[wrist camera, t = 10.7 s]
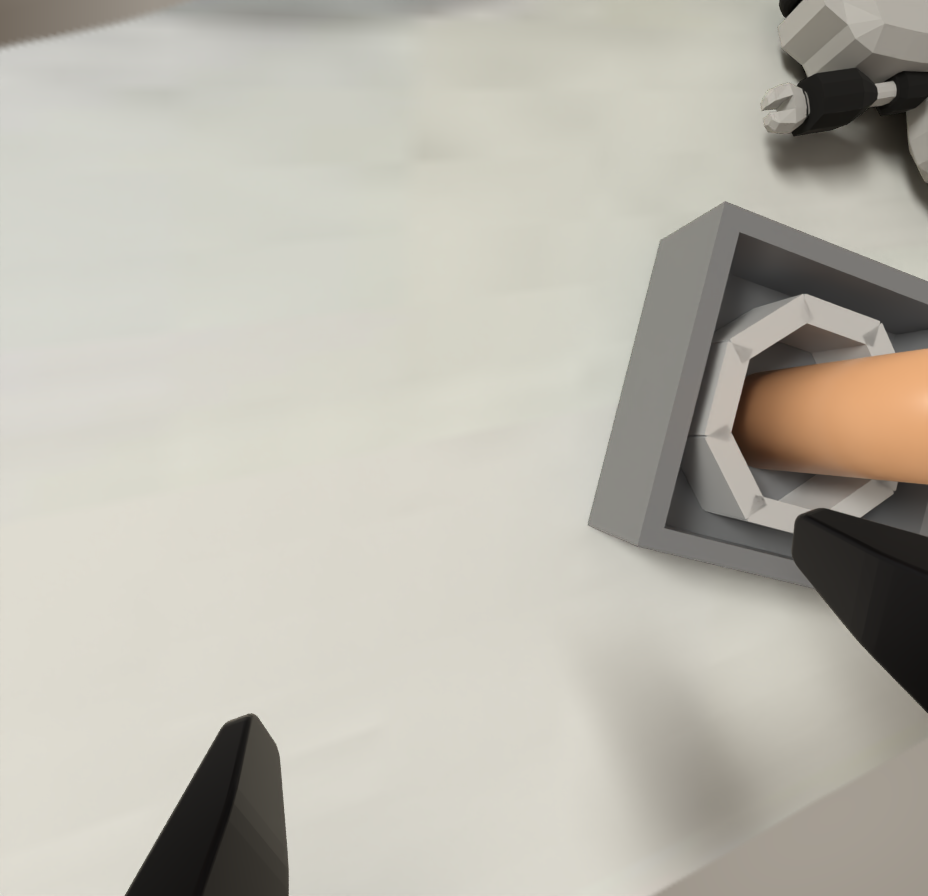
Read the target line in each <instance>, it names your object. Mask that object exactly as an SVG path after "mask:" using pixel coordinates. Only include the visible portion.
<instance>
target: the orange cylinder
mask: <svg viewBox="0 0 928 896" xmlns="http://www.w3.org/2000/svg"><path fill="white" fill-rule="evenodd" d="M731 433H732V435H733V437H734V439H735V441H736V443H737V445H738V447H739V449H740V451H741V453H742V455H743V457H744V459H745V461H746V463H747V465H748V466H751V467H754V468H758V469H768V470H778V471H789V472H800V473H810V474H821V475H831V476H842V477H853V478H863V479H874V480H884V481H895V482H906V483H916V484H927V485H928V348H927V349H920V350H913V351H906V352H899V353H891V354H884V355H877V356H870V357H863V358H856V359H849V360H842V361H834V362H827V363H820V364H813V365H806V366H799V367H792V368H785V369H777V370H770V371H763V372H758V373H754V374H751V375H749V376H747V377H745V380H744V384H743V388H742V392H741V395H740V399H739V403H738V407H737V411H736V415H735V419H734V423H733V427H732V431H731Z"/></svg>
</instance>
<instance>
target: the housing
mask: <svg viewBox="0 0 928 896" xmlns="http://www.w3.org/2000/svg"><path fill="white" fill-rule="evenodd" d="M927 348H928V281H925V280H923V279H920V278H918V277H915V276H912V275H910V274H907V273H905V272H902V271H900V270H897V269H895V268H892V267H890V266H887V265H885V264H882V263H880V262H877V261H875V260H872V259H870V258H867V257H864V256H862V255H859V254H857V253H854V252H852V251H849V250H847V249H844V248H842V247H839V246H837V245H834V244H832V243H829V242H827V241H824V240H822V239H819V238H817V237H814V236H811V235H809V234H806V233H804V232H801V231H799V230H796V229H794V228H791V227H789V226H786V225H784V224H781V223H779V222H776V221H774V220H771V219H769V218H766V217H763V216H761V215H758V214H756V213H753V212H751V211H748V210H746V209H743V208H741V207H738V206H736V205H733V204H731V203H728V202H726V201H725V202H723V203H722V204H720V205H718V206H717V207H715V208H713V209H712V210H710V211H708V212H707V213H705V214H703V215H702V216H700V217H698V218H697V219H695V220H693V221H692V222H690V223H688V224H687V225H685V226H684V227H682V228H680V229H679V230H677V231H675V232H674V233H672V234H670V235H669V236H667V237H665V238H664V239H662V240H660V244H659V248H658V252H657V256H656V260H655V264H654V267H653V271H652V275H651V279H650V283H649V287H648V291H647V295H646V299H645V303H644V307H643V310H642V314H641V318H640V322H639V326H638V330H637V334H636V338H635V342H634V346H633V349H632V353H631V357H630V361H629V365H628V369H627V373H626V377H625V381H624V385H623V389H622V392H621V396H620V400H619V404H618V408H617V412H616V416H615V420H614V424H613V428H612V432H611V435H610V439H609V443H608V447H607V451H606V455H605V459H604V463H603V467H602V471H601V474H600V478H599V482H598V486H597V490H596V494H595V498H594V502H593V506H592V510H591V514H590V517H589V521H588V525H589V526H591V527H593V528H596V529H598V530H600V531H603V532H605V533H607V534H610V535H612V536H615V537H617V538H619V539H622V540H624V541H626V542H629V543H631V544H633V545H636V546H639V547H643V548H647V549H651V550H655V551H660V552H664V553H668V554H672V555H676V556H680V557H685V558H689V559H693V560H697V561H701V562H705V563H710V564H714V565H718V566H722V567H726V568H731V569H735V570H739V571H743V572H747V573H751V574H756V575H760V576H764V577H768V578H772V579H776V580H781V581H785V582H789V583H793V584H797V585H802V586H806V587H810V588H814V587H813V586H812V584H811V583H810V582H809V581H808V580H807V578H806V577H805V576H804V575H803V573H802V572H801V571H800V570H799V568H798V567H797V566H796V564H795V562H794V560H793V558H792V553H791V549H792V540H793V531H794V522H795V519H796V518H797V516H798V515H800V514H802V513H805V512H808V511H811V510H813V509H816V508H827V509H831V510H834V511H838V512H841V513H845V514H849V515H852V516H856V517H859V518H863V519H867V520H870V521H874V522H877V523H881V524H885V525H888V526H892V527H895V528H899V529H902V530H906V531H910V532H913V533H917V534H920V535H924V536H928V485H927V484H916V483H906V482H895V481H884V480H874V479H863V478H853V477H842V476H831V475H821V474H810V473H800V472H789V471H778V470H768V469H758V468H754V467H751V466H748V465H747V463H746V461H745V459H744V457H743V455H742V453H741V451H740V449H739V447H738V445H737V443H736V441H735V439H734V437H733V435H732V433H731V431H732V427H733V423H734V419H735V415H736V411H737V407H738V403H739V399H740V395H741V392H742V388H743V384H744V380H745V377H747V376H749V375H751V374H754V373H758V372H763V371H770V370H777V369H785V368H792V367H799V366H806V365H813V364H820V363H827V362H834V361H842V360H849V359H856V358H863V357H870V356H877V355H884V354H891V353H899V352H906V351H913V350H920V349H927ZM814 589H815V588H814Z"/></svg>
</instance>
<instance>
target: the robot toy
mask: <svg viewBox="0 0 928 896" xmlns="http://www.w3.org/2000/svg"><path fill="white" fill-rule="evenodd" d="M779 7H780V10H781V12H782V14H783V16H784V17H785V18H786V19H785V20H784V21H783V22H782V23H781V24H780V25H779V26H778V32H779V37H780V42H781V47H782V49H783V50H784V51H786V52H787V53H788V54H789V55H790V56H792V57H793V58H794V59H795V60H796V61H797V62H799V63H800V64H801V65H802V66H803V68H804V70H805V72H806V75H807V78H806V79H804V80H802V81H800V82H799V84H798V85H797V86H795V85H793V84H791V83H785V84H781V85H778V86H776V87H774V88H771V89H769V90H767V92H766V94H765V96H764V97H763V99H762V102H761V110H762V111H764V110H773V109H776V110H777V112H770V113H769V114H768V115H767V116H766V117H764V118H763V122H764V126H765V128H766V129H767V131H768V132H771V133H780V134H785V133H791V132H792V134H793V136H798V135H805V134H811V133H818V132H824V131H830V130H833V129H836V128H839V127H842V126H844V125H847V124H848V123H850V122H851V121H852V120H854V119H855V118H856V117H858V116H859V115H860V114H862V113H863V112H864V111H865V110H866V109H868V108H869V107H875V106H876V108H877V110H878V112H879V113H880V115H881V116H884V115H890V114H897V113H903V112H906V118H907V135H908V145H909V152H910V154H911V156H912V158H913V160H914V162H915V164H916V166H917V168H918V170H919V172H920V174H921V176H922V178H923V180H924V182H926V183H928V0H780V1H779Z"/></svg>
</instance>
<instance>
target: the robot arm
mask: <svg viewBox="0 0 928 896" xmlns="http://www.w3.org/2000/svg"><path fill="white" fill-rule="evenodd" d="M791 553H792V558H793V560H794V562H795V564H796V566H797V567H798V568H799V570H800V571H801V572H802V573H803V575H804V576H805V577H806V578H807V580H808V581H809V582H810V583H811V584H812V586H813V587H814V588H815V589H816V591H817V592H818V593H819V594H820V596H821V597H822V598H823V599H824V600H825V602H826V603H827V604H828V605H829V607H830V608H831V609H832V610H833V612H834V613H835V614H836V615H837V616H838V618H839V619H840V620H841V621H842V623H843V624H844V625H845V626H846V628H847V629H848V630H849V631H850V632H851V633H852V635H853V636H854V637H855V638H856V639H857V640H858V642H859V643H860V644H861V645H862V646H863V647H864V648H865V649H866V650H867V651H868V652H869V654H870V655H871V656H872V657H873V658H874V659H875V660H876V661H877V662H878V663H879V664H880V665H881V666H882V667H883V668H884V669H885V670H886V671H887V672H888V673H889V674H890V675H891V676H892V677H893V678H894V679H895V680H896V681H897V682H898V683H899V684H900V685H901V686H902V687H903V688H904V689H905V690H906V691H907V692H908V694H909V695H910V696H911V697H912V698H913V699H914V700H915V701H916V702H917V703H918V704H919V705H920V706H921V707H922V708H923V709H924V710H925V711H926V712H927V713H928V536H924V535H920V534H917V533H913V532H910V531H906V530H902V529H899V528H895V527H892V526H888V525H885V524H881V523H877V522H874V521H870V520H867V519H863V518H859V517H856V516H852V515H849V514H845V513H841V512H838V511H834V510H831V509H827V508H816V509H813V510H811V511H808V512H805V513H802V514H800V515H798V516H797V518H796V519H795V522H794V531H793V540H792V549H791ZM125 896H289V868H288V851H287V839H286V827H285V814H284V802H283V790H282V778H281V766H280V756H279V752H278V748H277V746H276V744H275V742H274V740H273V739H272V737H271V736H270V734H269V733H268V731H267V730H266V728H265V727H264V725H263V724H262V722H261V721H260V719H259V718H258V717H257V716H256V715H255V714H252V713H251V714H247V715H244V716H241V717H238V718H236V719H233V720H230V721H228V722H227V723H225V724H224V725H223V727H222V728H221V729H220V731H219V733H218V735H217V736H216V738H215V740H214V741H213V743H212V745H211V747H210V748H209V750H208V752H207V754H206V755H205V757H204V759H203V761H202V762H201V764H200V766H199V767H198V769H197V771H196V773H195V774H194V776H193V778H192V780H191V781H190V783H189V785H188V787H187V788H186V790H185V792H184V794H183V795H182V797H181V799H180V800H179V802H178V804H177V806H176V807H175V809H174V811H173V813H172V814H171V816H170V818H169V820H168V821H167V823H166V825H165V826H164V828H163V830H162V832H161V833H160V835H159V837H158V839H157V840H156V842H155V844H154V846H153V847H152V849H151V851H150V853H149V854H148V856H147V858H146V859H145V861H144V863H143V865H142V866H141V868H140V870H139V872H138V873H137V875H136V877H135V879H134V880H133V882H132V884H131V885H130V887H129V889H128V891H127V892H126V894H125Z"/></svg>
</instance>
